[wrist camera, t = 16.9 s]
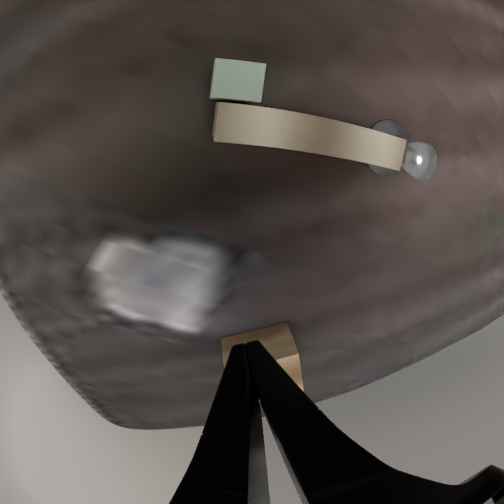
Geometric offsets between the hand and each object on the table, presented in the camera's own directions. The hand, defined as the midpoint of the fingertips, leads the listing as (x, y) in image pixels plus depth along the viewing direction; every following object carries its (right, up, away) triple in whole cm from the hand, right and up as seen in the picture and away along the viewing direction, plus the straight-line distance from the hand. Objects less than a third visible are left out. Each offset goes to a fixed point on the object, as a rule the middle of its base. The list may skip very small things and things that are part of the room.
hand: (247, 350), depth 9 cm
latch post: (-1, +13, +6) cm, 15 cm away
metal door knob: (+10, +11, +10) cm, 18 cm away
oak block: (+1, -6, +18) cm, 19 cm away
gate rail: (+3, +11, +8) cm, 14 cm away
